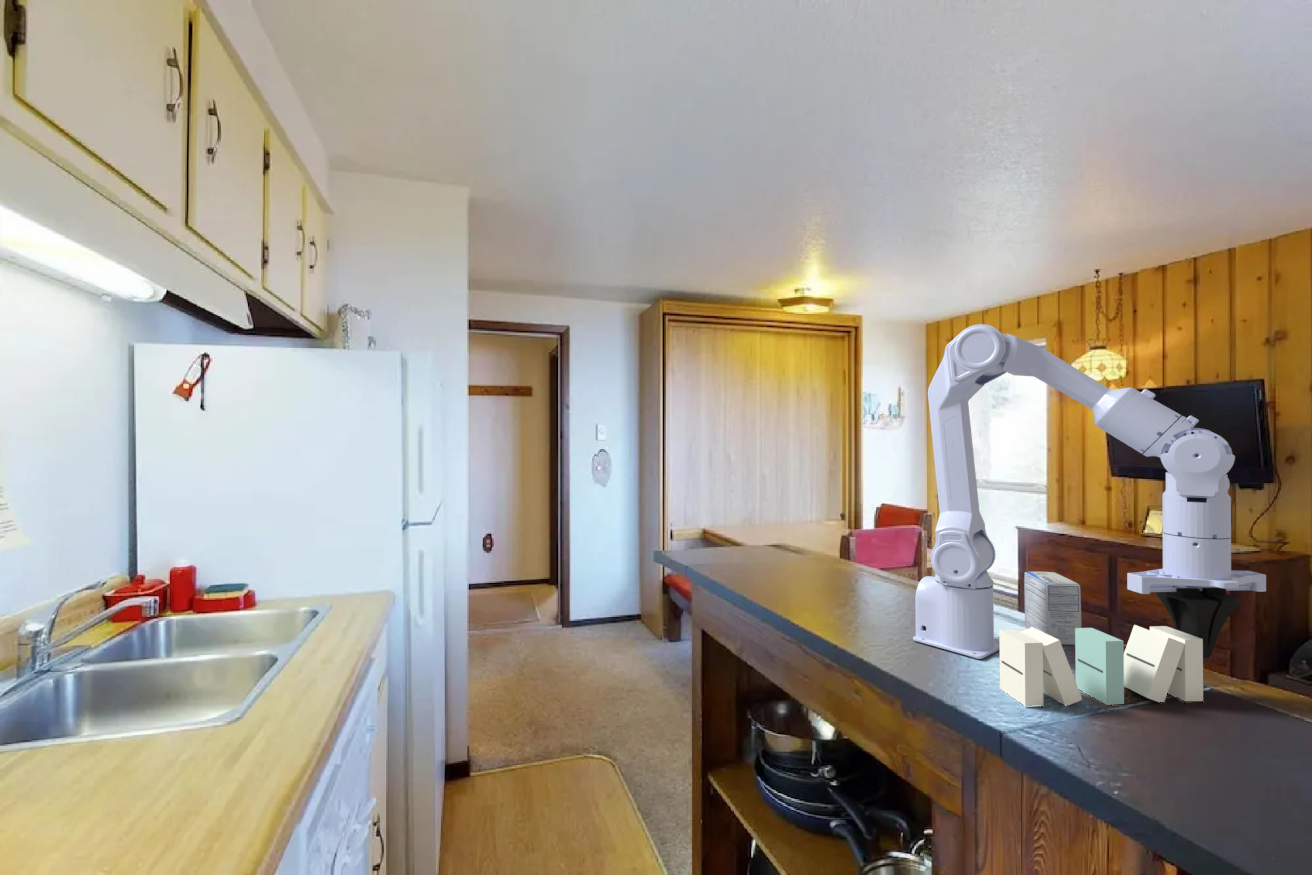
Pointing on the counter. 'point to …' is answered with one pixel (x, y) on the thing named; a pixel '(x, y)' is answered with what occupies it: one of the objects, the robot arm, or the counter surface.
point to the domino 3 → (1099, 665)
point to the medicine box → (1052, 605)
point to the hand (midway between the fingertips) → (1196, 654)
